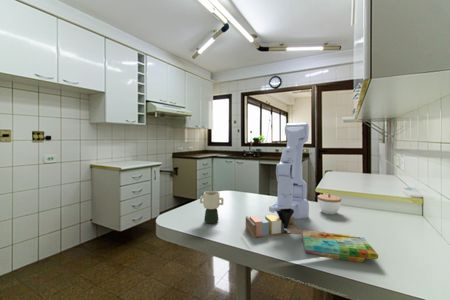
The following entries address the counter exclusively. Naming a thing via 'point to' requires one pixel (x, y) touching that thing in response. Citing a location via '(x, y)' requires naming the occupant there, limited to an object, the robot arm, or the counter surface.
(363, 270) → the counter surface
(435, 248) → the counter surface
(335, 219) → the counter surface
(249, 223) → the shelf tray
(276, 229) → the pale yellow upright block
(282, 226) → the bookend
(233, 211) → the counter surface
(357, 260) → the puzzle game
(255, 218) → the row books
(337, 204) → the lidded jar
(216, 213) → the character mug
